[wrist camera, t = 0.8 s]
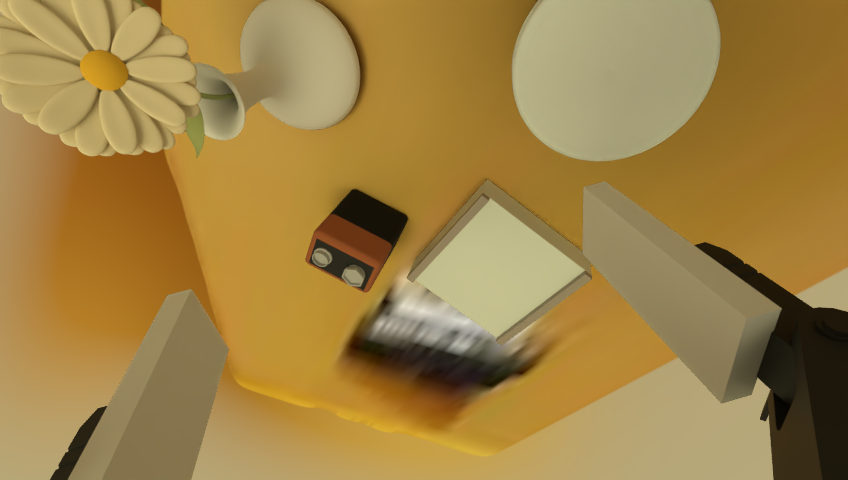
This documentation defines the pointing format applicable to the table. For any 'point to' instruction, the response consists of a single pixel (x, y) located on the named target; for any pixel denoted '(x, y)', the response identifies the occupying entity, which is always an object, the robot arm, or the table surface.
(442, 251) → the stand
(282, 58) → the flower in vase
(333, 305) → the table surface
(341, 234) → the battery
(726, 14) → the table surface
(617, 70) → the supplement tub
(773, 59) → the table surface
